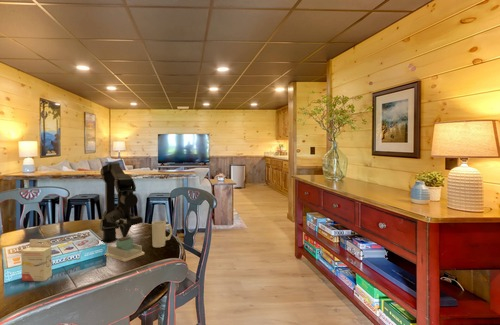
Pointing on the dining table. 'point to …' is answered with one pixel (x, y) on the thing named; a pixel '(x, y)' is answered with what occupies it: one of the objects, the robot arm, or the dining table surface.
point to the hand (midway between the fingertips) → (124, 236)
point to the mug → (160, 233)
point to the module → (124, 243)
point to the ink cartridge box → (37, 261)
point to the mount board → (124, 253)
